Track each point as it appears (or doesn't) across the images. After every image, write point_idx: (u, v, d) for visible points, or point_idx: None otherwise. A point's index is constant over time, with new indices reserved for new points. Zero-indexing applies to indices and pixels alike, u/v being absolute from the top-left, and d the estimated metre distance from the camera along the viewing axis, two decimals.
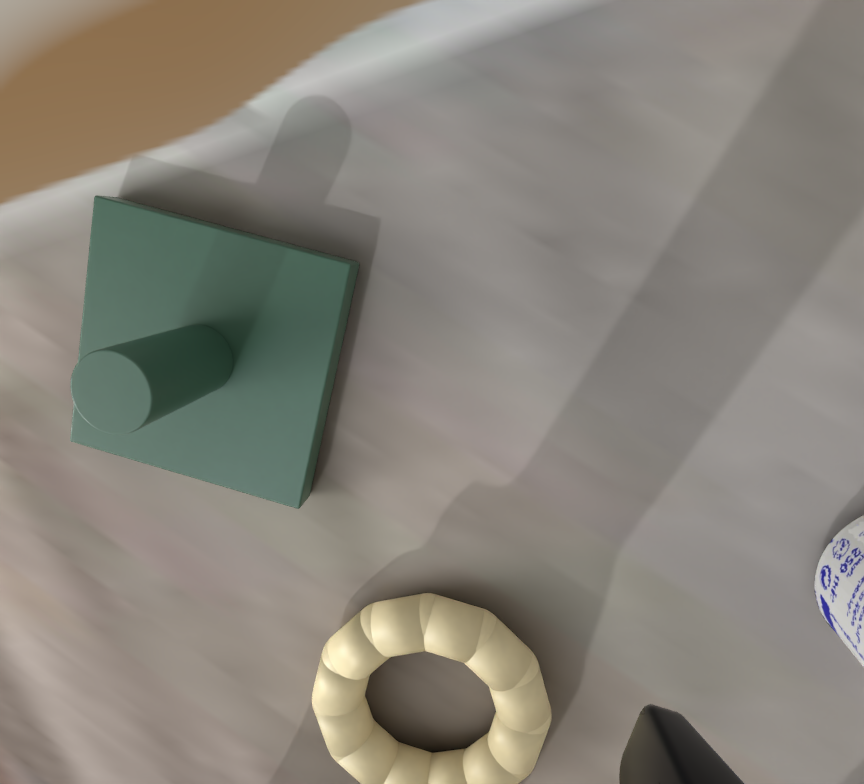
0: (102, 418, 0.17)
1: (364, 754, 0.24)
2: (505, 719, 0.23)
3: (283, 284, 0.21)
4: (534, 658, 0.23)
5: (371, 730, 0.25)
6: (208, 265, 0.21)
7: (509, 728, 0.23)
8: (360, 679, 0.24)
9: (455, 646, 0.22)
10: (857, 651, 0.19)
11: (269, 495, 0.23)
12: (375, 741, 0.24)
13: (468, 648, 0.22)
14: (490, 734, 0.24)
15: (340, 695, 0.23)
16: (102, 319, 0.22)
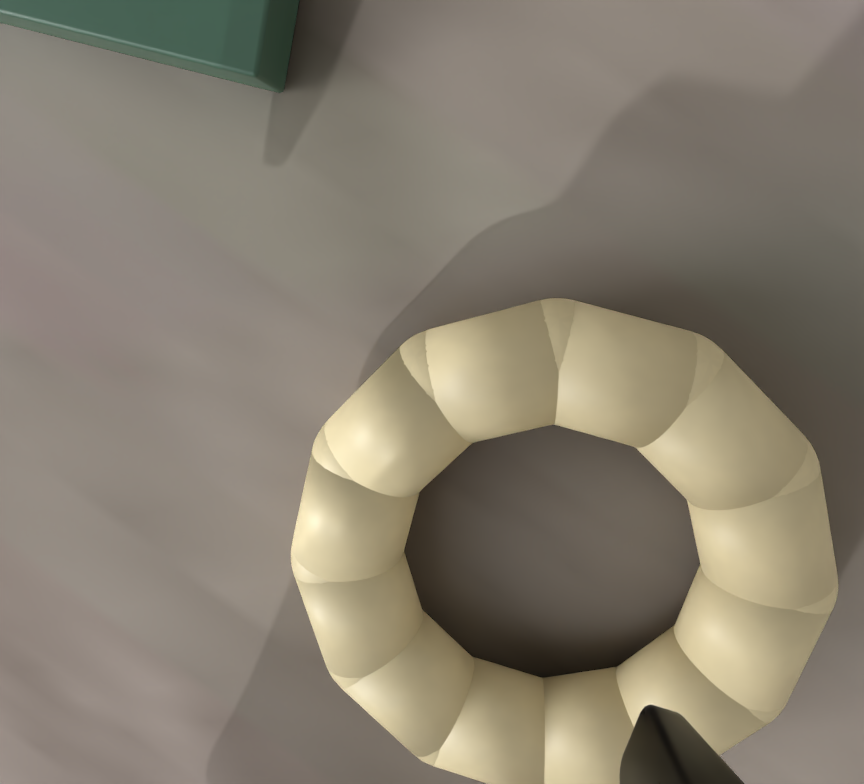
0: None
1: (405, 672, 0.11)
2: (741, 581, 0.10)
3: None
4: (806, 440, 0.10)
5: (419, 623, 0.11)
6: None
7: (750, 603, 0.10)
8: (398, 498, 0.10)
9: (636, 392, 0.09)
10: None
11: (186, 44, 0.10)
12: (428, 646, 0.11)
13: (669, 395, 0.09)
14: (686, 626, 0.11)
15: (353, 532, 0.10)
16: None
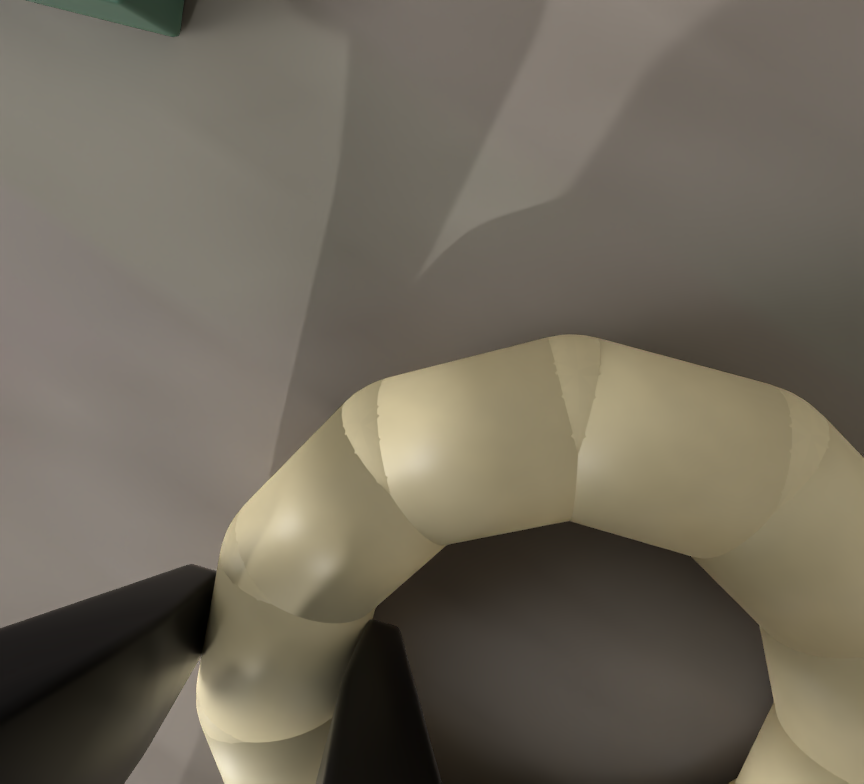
0: None
1: None
2: (848, 758, 0.07)
3: None
4: None
5: None
6: None
7: None
8: (341, 623, 0.07)
9: (699, 486, 0.06)
10: None
11: None
12: None
13: (750, 492, 0.06)
14: None
15: (276, 675, 0.07)
16: None
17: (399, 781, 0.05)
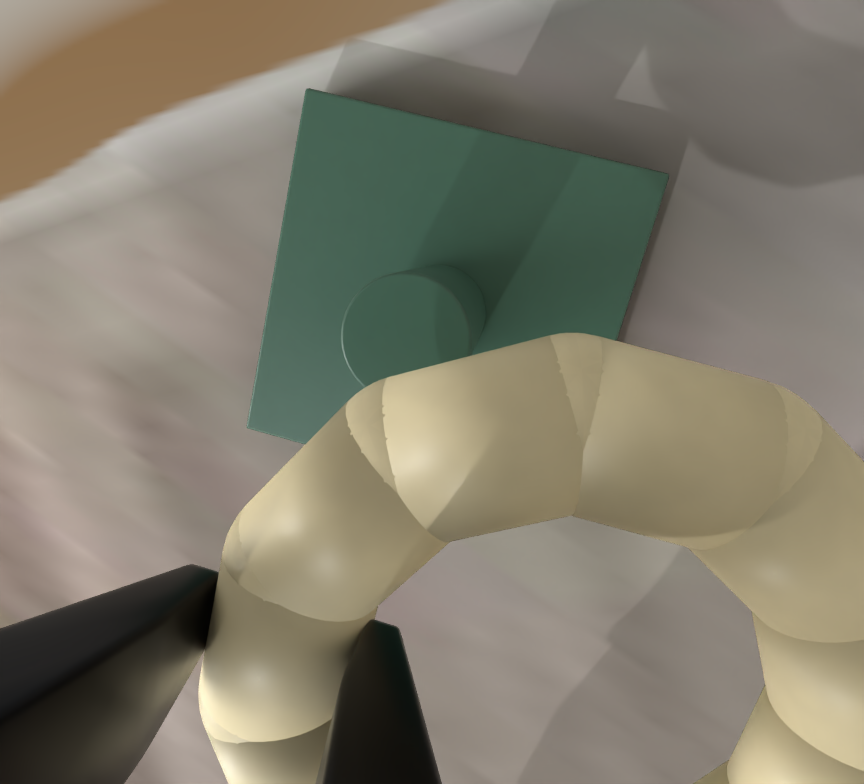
0: None
1: None
2: (839, 738, 0.07)
3: (568, 205, 0.15)
4: None
5: None
6: (461, 181, 0.15)
7: (852, 769, 0.07)
8: (347, 622, 0.07)
9: (700, 481, 0.06)
10: None
11: None
12: None
13: (749, 486, 0.06)
14: (750, 782, 0.08)
15: (282, 675, 0.07)
16: (304, 261, 0.16)
17: (399, 781, 0.05)
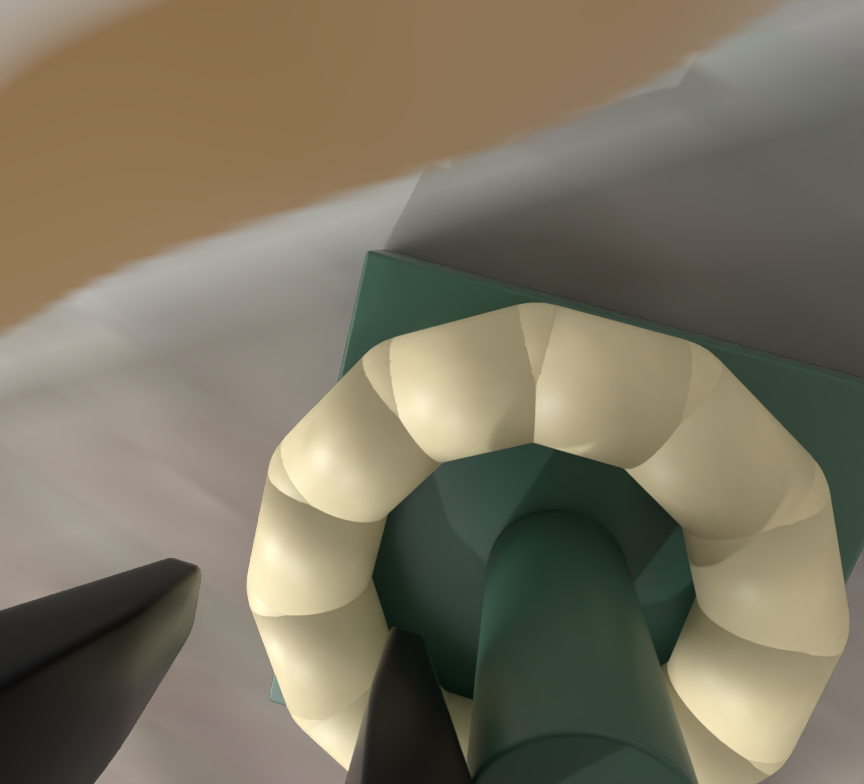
0: None
1: None
2: (741, 618, 0.09)
3: None
4: None
5: None
6: None
7: (750, 643, 0.09)
8: (361, 523, 0.09)
9: (623, 409, 0.08)
10: None
11: None
12: None
13: (660, 413, 0.08)
14: (681, 665, 0.10)
15: (312, 561, 0.09)
16: None
17: None
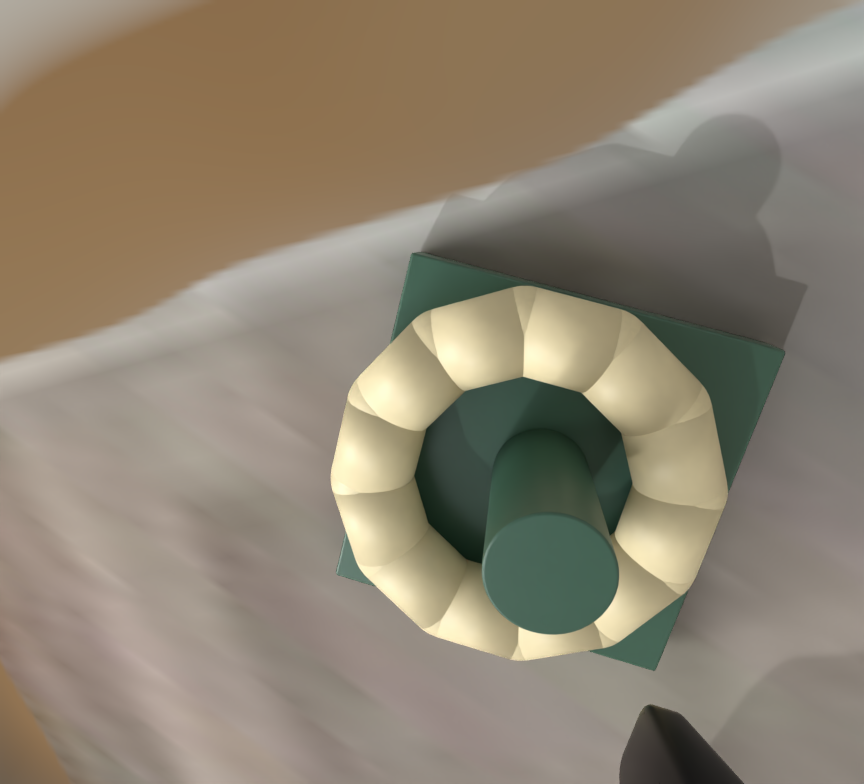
0: (529, 611, 0.11)
1: (416, 562, 0.15)
2: (656, 487, 0.14)
3: None
4: (703, 387, 0.14)
5: (426, 529, 0.15)
6: None
7: (663, 503, 0.14)
8: (410, 431, 0.14)
9: (578, 350, 0.13)
10: None
11: (615, 652, 0.17)
12: (433, 545, 0.15)
13: (601, 352, 0.13)
14: (622, 526, 0.15)
15: (379, 456, 0.14)
16: None
17: None
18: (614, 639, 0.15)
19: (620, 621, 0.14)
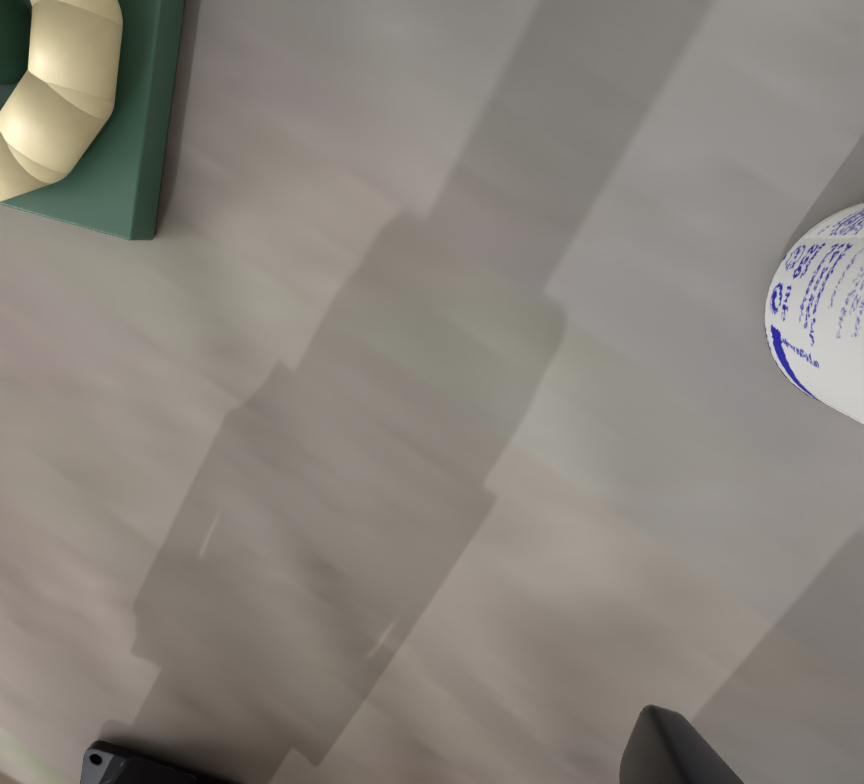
0: None
1: None
2: None
3: None
4: None
5: None
6: None
7: (35, 4, 0.15)
8: None
9: None
10: (811, 362, 0.15)
11: (94, 223, 0.18)
12: None
13: None
14: None
15: None
16: None
17: None
18: (27, 155, 0.16)
19: (22, 130, 0.16)
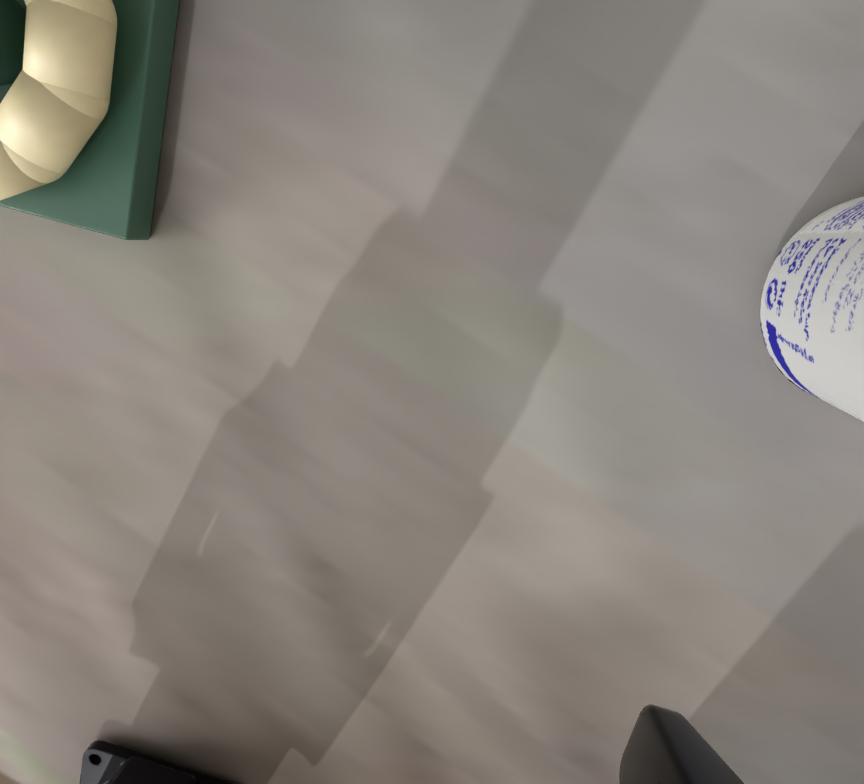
0: None
1: None
2: None
3: None
4: None
5: None
6: None
7: (29, 3, 0.15)
8: None
9: None
10: (806, 357, 0.15)
11: (90, 223, 0.18)
12: None
13: None
14: None
15: None
16: None
17: None
18: (22, 155, 0.16)
19: (17, 130, 0.16)
